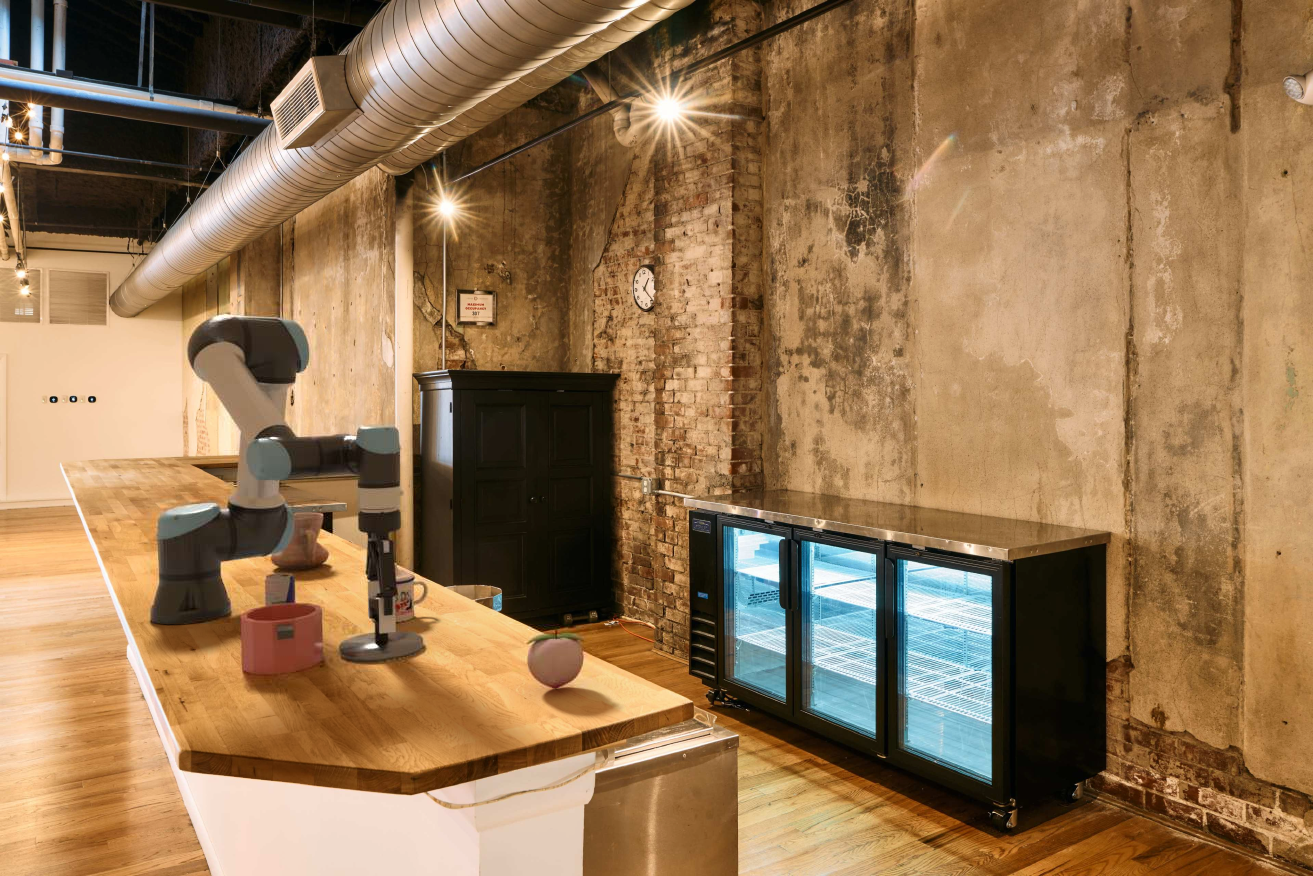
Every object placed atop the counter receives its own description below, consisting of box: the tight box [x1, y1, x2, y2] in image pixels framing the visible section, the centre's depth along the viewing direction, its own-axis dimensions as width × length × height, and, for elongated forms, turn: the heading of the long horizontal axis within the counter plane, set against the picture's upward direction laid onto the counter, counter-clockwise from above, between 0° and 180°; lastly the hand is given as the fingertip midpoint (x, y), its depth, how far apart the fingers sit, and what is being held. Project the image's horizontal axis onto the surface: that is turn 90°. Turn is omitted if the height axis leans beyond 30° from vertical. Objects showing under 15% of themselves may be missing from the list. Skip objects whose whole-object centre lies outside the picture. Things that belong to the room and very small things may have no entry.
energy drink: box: [264, 572, 296, 606], centre depth 167 cm, size 5×5×12 cm
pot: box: [240, 601, 324, 676], centre depth 151 cm, size 21×13×9 cm, turn 27°
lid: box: [338, 596, 424, 663], centre depth 159 cm, size 15×15×10 cm
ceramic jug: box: [270, 512, 330, 570], centre depth 230 cm, size 18×14×14 cm
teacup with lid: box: [371, 562, 429, 623], centre depth 181 cm, size 12×9×12 cm
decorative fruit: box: [526, 627, 586, 689], centre depth 138 cm, size 9×8×10 cm
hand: (381, 623), depth 159 cm, fingers open, 13 cm apart
